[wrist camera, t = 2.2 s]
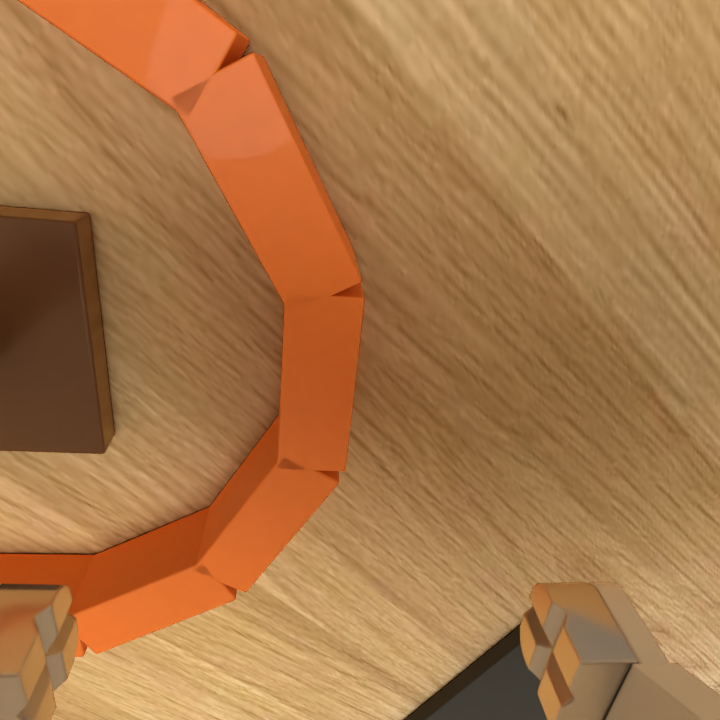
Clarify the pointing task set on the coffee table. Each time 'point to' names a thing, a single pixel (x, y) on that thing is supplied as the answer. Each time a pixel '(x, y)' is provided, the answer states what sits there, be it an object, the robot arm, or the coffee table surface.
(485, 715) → the mat
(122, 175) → the coffee table surface
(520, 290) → the coffee table surface
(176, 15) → the hoop
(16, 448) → the post
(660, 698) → the robot arm
